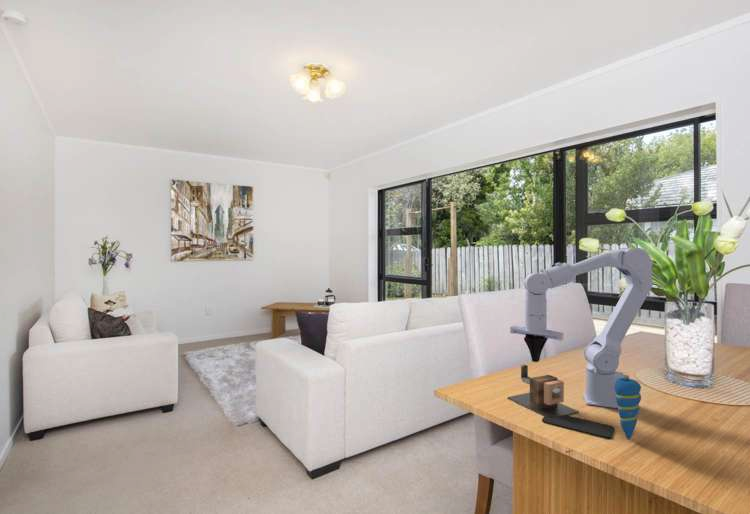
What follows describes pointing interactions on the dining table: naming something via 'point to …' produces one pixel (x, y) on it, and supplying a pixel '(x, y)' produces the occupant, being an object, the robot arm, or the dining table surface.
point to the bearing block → (539, 391)
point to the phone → (581, 425)
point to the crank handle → (527, 379)
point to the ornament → (628, 403)
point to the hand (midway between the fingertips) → (535, 361)
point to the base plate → (547, 411)
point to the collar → (548, 392)
